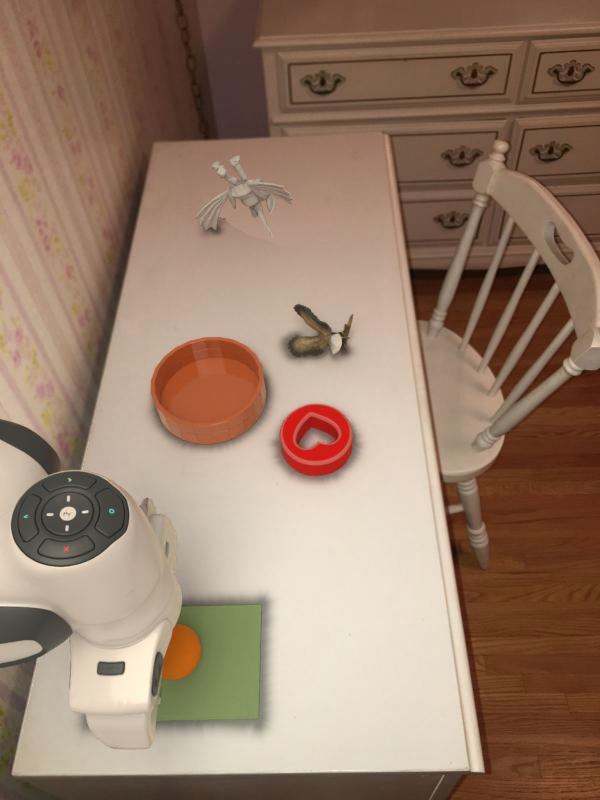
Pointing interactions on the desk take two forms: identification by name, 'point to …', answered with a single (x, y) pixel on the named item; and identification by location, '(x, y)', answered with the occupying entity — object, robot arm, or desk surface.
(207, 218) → the grey winged dragon figurine
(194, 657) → the orange
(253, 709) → the felt mat
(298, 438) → the decorative ornament
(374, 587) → the desk surface
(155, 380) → the pot
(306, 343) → the eagle figurine
